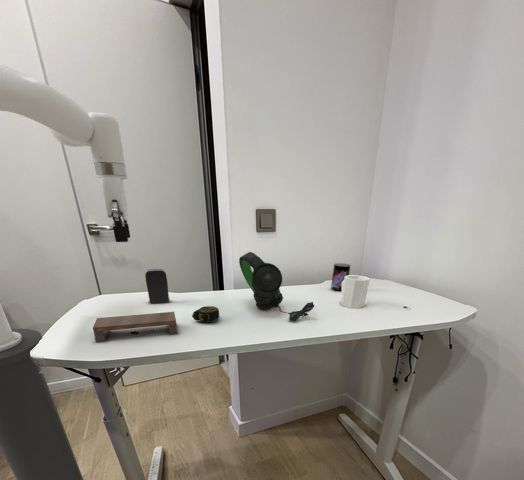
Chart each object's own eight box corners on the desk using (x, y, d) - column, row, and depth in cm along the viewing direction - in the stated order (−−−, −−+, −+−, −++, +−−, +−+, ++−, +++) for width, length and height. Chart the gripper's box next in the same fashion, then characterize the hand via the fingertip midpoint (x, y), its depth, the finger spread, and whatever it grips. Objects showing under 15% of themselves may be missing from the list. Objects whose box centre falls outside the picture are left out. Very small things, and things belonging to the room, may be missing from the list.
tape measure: (205, 315, 93) (204, 303, 91) (223, 318, 91) (223, 307, 89) (192, 322, 87) (191, 310, 86) (211, 326, 85) (210, 314, 83)
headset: (282, 341, 97) (236, 284, 108) (314, 320, 99) (267, 266, 110) (280, 314, 80) (227, 250, 91) (319, 289, 82) (263, 229, 93)
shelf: (96, 342, 74) (92, 327, 72) (100, 331, 80) (96, 317, 78) (177, 333, 80) (175, 320, 78) (175, 324, 85) (174, 311, 84)
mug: (369, 306, 105) (374, 279, 100) (348, 308, 102) (353, 281, 98) (349, 297, 115) (354, 272, 110) (330, 298, 112) (334, 273, 108)
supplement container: (327, 288, 126) (330, 263, 121) (340, 287, 128) (344, 262, 124) (336, 292, 120) (340, 266, 116) (349, 291, 123) (354, 266, 118)
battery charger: (169, 299, 106) (165, 267, 101) (170, 302, 103) (166, 270, 98) (149, 300, 104) (144, 268, 99) (149, 304, 101) (144, 270, 96)
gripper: (100, 173, 84) (112, 236, 92) (89, 168, 69) (105, 243, 77) (128, 174, 86) (138, 236, 94) (123, 170, 72) (135, 243, 80)
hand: (123, 239), depth 86 cm, fingers open, 9 cm apart
